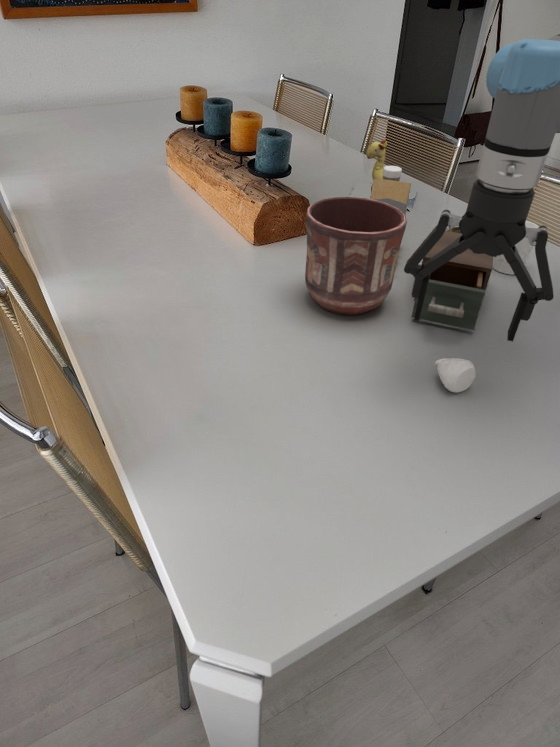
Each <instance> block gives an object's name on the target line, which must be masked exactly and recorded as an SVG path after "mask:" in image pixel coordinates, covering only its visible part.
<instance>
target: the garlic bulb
mask: <svg viewBox="0 0 560 747" xmlns="http://www.w3.org/2000/svg"><path fill="white" fill-rule="evenodd" d="M434 366H437V374H438V376H439V379H440V381H441V383H442V384H443V386H444V388H445V389H447V390H448V391H449V392H451V393H461V392H464V391H466V390H468V389H469V388H470V386H471V385H472V384H473V383H474V381H475V378H476V375H477V374H476V373H477V371H476V368H475V366H474V364H473V362H472V361H470V360H469V359H464V358H459V357H458V358H457V357H452V358H451V357H450V358H446V357H445V358H439V359H437V360H435V362H434Z"/></svg>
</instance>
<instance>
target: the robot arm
mask: <svg viewBox="0 0 560 747" xmlns="http://www.w3.org/2000/svg"><path fill="white" fill-rule="evenodd" d="M485 77H486V80H485V84H486V88H487V91H488V93H489V95H490V96H491V97H492V98H493V99H494V102H493V106H492V111H491V114H490V118H489V121H488V122H489V123H488V126H487V131H486V135H485V138H484V142H483V145H482V147H481V148H482V149H481V153H480V157H479V161H478V164H477V168H476V172H475V177H476V178H477V179H476V180H475V181H474V182H473V183H472V187H471V191H470V195H469V198H468V202H467V207H466V210H465V212H464V214H463V215H462V216H459V215H457V214H453V213H451V211H450V210H449V209H444V210H442V211H441V214H440V217H439V219H438V223H437V224H436V225H435V227H434V228H432V230H431V232H429V234H428V235H427V236H426V238H424V240H423V241H422V242H421V243H420V244H419V246H418V247H417V248H416V249H415V251H414V252H413V253H412V255H411V256H410V257H409V258H408V259H407V261H406V263H405V265H404V268H403V271H404V273H405V274H409V275H412V276H413V278H414V281H413V286H412V292H411V298H418V304H417V308H416V312H415V317H414V318H413V321H415V322H419V321H420V319H419V318H420V315H421V312H422V307H423V303H424V299H425V295H426V290H427V286H428V282H429V278H430V275H429V274H431V273H432V272H434V271H435V270H437V269H438V268H439V267H441V266H442V265H444V264H445V263H447V262H448V261H450V260H451V259H452V258H454V257H455V256H457V255H458V254H461V253H463V252H464V251H466V250H467V249H470V250H471V251H473V253H476V254H487V255H489V256H493V258H494V257H497V256H499V255H502V254H503V255H504V257H505V259H506V261H507V263H509V265H510V267H511V268H512V270H513V272H514V274H515V275H514V276H515V278H516V279H517V282H518V283H519V285H520V287H521V289H522V291H523V292H521V293H520V295H519V299H518V302H517V303H516V304H517V305H516V307H515V309H514V313H513V315H512V318H511V321H510V324H509V327H508V330H507V341H508V342H514V339H515V337H516V334H517V331H518V329H519V326H520V323H521V321H526V322H528V321H529V320H530V319H531V316H532V314H533V311H534V308H535V306H536V305H537V304H538V303H539V301H547V302H550V301H552V300H554V287H553V281H552V276H551V271H550V270H551V269H550V265H549V260H548V259H549V258H548V253H547V244H548V239H549V231H548V227H547V226H546V225H540V226H539V228H526V226H525V222H526V221H527V218H528V216H529V213H530V210H531V206H532V204H533V200H534V198H535V196H536V195H535V194H536V192H535V190H534V188H536V187H537V186H538V185H539V182H540V179H541V175H542V173H543V169H544V168H545V164H546V161H547V157H548V154H549V153H550V150H551V147H552V144H553V141H554V138H555V135H556V134H560V33H559V34H557V35H556V34H555V35H554V36H551V37H549V38H546V39H540V38H524V39H520V40H518V41H516V42H512V43H508V44H505V45H504V46H502V47H501V48H500V49H499V50H498V51H497V52H496V53H495V55H493V57H492V59H491V61H490V62H489V65H488V67H487V71H486V76H485ZM453 227H459V229H460V231H461V233H462V235H461V236H460V237H458V238H457V239H456V240H455V241H454V242H453V243H451V244H450V245H449V246H447V247H446V248H444V249H443V250H442V251H440V252H439V253H437V254H436V255H435V256H433V257H432V258H430V259H429V260H428V261H426V262H425V263H423V264H422V261H423V258H424V257H425V256H426V255H427V253H428V252H429V251H430V250H431V249H432V248H433V246H434V245H435V244H436V243H437V242H438V241H439V239H440V238H441V237H442V236H443V234H444V232H445V231H450V230H451V229H452V228H453ZM524 237H526V238H528V239H529V243H530V245H532V246H533V247H534V253H535V260H536V264H537V269H538V275H539V279H540V280H539V281H540V284H541V287H537V285H536V283H535V282H534V280H533V278H532V276H531V274H530V272H529V271H528V270H529V269H528V268H527V266H526V264H525V265H524V263H523V261H522V259H521V257H520V255H519V253H518V251H517V248H516V246H515V245H516V244H517V243H518V242H520V241H521V240H522V239H523V238H524ZM420 263H421V264H420Z"/></svg>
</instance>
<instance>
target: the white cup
mask: <svg viewBox="0 0 560 747" xmlns="http://www.w3.org/2000/svg"><path fill="white" fill-rule="evenodd" d="M525 226H526V228H539V227H540V226H539V225H538V224H536V223H534V222H532V221H530V220H526V222H525ZM515 246H516V248H517V251H518V253H519V255H520V257H521V259H522V261H523V263H524V265H525V266H526V264H527V261H528V260H529V257H530V256H531V253H532V250H533V248H534V246H532V245H530V243H529V239H528V238H526V237H524V238H523V239H522V240H521V241H520V242H518V243H517V244H516V245H515ZM492 269H493V270H495V271H497V272H498V273H501V274H505V275H509V276H510V275H511V276H515V274H514V272H513V270H512V268H511V267H510V265H509V263H507V261H506V259H505V257H504V255H503V254H502V255H499V256H497V257H493V266H492Z"/></svg>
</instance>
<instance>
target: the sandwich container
mask: <svg viewBox="0 0 560 747" xmlns="http://www.w3.org/2000/svg"><path fill="white" fill-rule="evenodd" d="M372 184H373V185H372V191H371V196H370V199H373V200H377V201H381V202H384V203H387V204H389V205H391V206H393V207H396V208H398V209H399V210H400V211H401V212H402V213H403V214H404V215H407V211H408V210H407V204H408V199H409V193H410V190H411V187H412V183H411V182H406V181H400V180H399V181H392V180H383V179H374V180H373V179H372ZM400 249H401V247H400V248H399V250H400ZM399 253H400V251H399V252H398V256H397V260H396V265H395V269H396V268H397V264H398V260H399Z"/></svg>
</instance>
